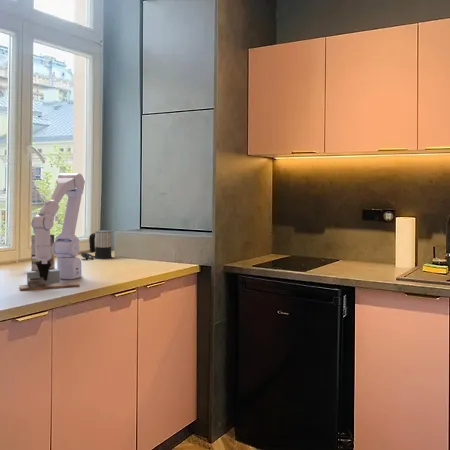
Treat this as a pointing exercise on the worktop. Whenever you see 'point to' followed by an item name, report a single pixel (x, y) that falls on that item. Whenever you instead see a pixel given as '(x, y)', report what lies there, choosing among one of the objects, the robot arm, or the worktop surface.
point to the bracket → (45, 284)
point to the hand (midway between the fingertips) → (43, 279)
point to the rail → (52, 277)
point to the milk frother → (99, 245)
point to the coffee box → (34, 266)
